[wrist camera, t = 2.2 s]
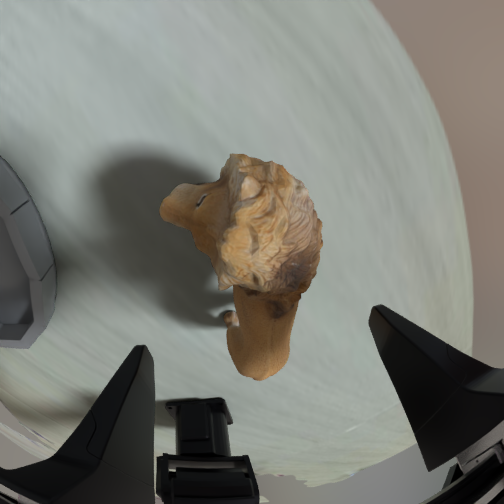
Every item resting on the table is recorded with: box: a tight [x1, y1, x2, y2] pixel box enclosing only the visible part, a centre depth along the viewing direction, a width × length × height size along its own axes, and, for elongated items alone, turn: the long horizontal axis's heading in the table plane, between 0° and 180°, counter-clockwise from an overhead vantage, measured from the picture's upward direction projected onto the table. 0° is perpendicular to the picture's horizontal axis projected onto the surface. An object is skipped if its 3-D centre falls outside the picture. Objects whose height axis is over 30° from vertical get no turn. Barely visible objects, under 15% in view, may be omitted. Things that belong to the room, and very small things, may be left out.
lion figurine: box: [159, 154, 323, 381], centre depth 13 cm, size 15×5×9 cm, turn 9°
